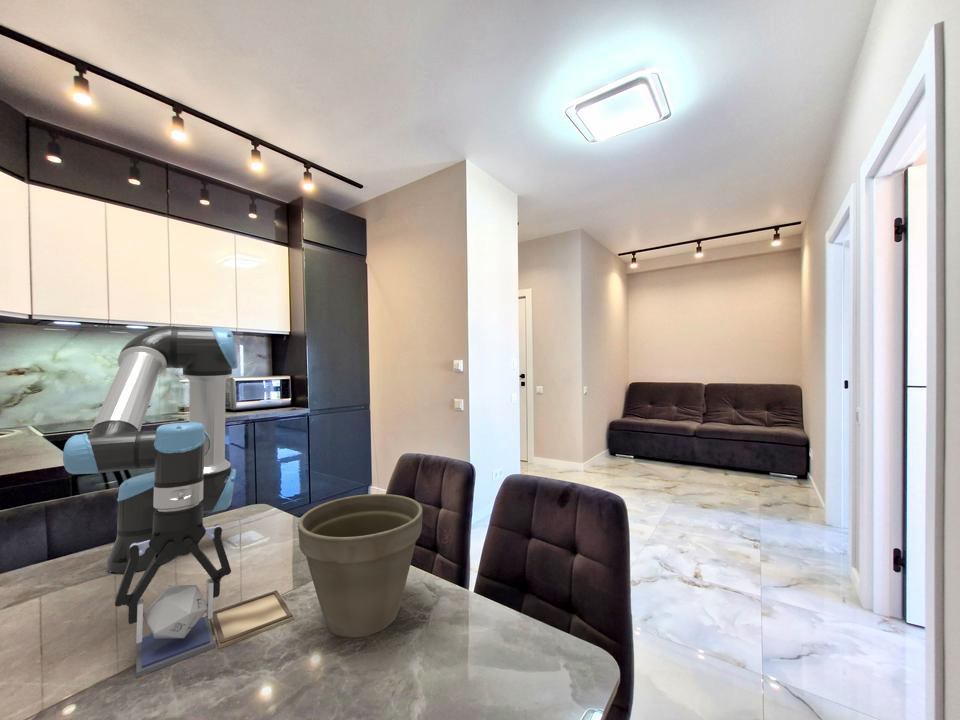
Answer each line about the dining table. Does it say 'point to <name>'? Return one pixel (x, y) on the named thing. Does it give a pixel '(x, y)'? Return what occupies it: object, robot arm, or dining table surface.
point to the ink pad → (173, 648)
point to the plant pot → (360, 558)
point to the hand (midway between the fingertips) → (175, 626)
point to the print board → (249, 618)
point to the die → (175, 611)
